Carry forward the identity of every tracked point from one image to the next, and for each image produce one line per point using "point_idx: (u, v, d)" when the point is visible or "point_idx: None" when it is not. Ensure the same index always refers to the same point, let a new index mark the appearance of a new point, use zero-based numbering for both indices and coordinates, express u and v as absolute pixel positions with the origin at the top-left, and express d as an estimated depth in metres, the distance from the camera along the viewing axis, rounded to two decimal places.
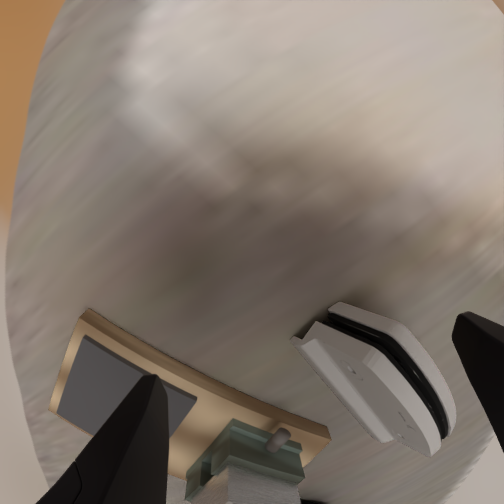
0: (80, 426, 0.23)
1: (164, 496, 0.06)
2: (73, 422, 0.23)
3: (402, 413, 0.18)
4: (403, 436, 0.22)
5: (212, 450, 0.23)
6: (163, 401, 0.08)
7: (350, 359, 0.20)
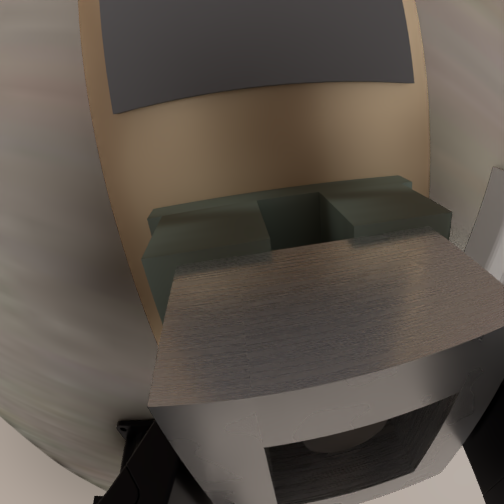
0: None
1: None
2: None
3: None
4: None
5: (321, 193, 0.10)
6: None
7: None
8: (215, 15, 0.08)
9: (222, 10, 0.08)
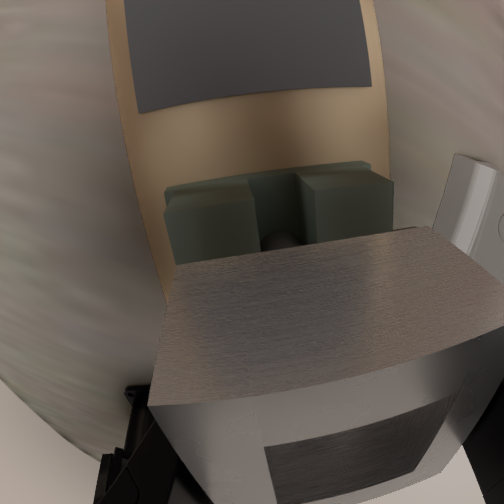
0: None
1: None
2: None
3: None
4: None
5: (296, 173, 0.13)
6: None
7: None
8: (216, 39, 0.11)
9: (221, 35, 0.11)
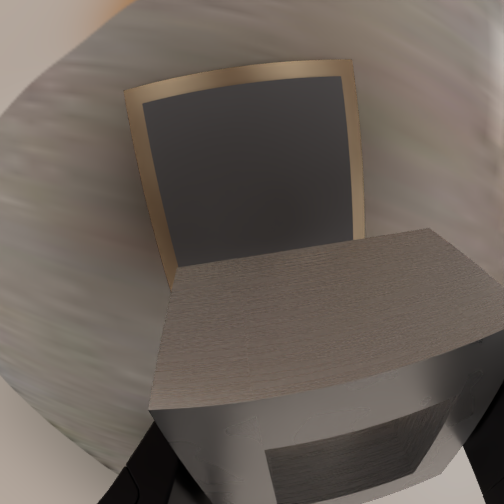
0: (156, 152, 0.15)
1: None
2: (153, 137, 0.15)
3: None
4: None
5: None
6: None
7: None
8: (237, 230, 0.17)
9: (241, 227, 0.17)
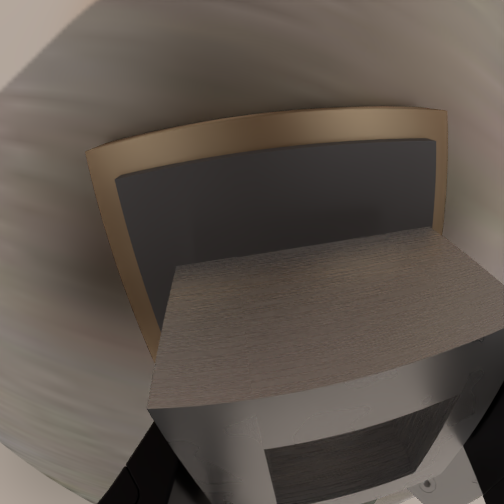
0: (144, 258, 0.10)
1: None
2: (136, 237, 0.09)
3: None
4: (432, 485, 0.19)
5: None
6: None
7: None
8: None
9: None
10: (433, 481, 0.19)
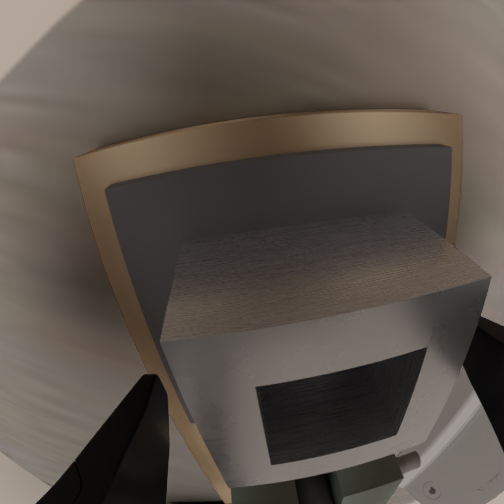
0: (138, 274, 0.09)
1: (164, 496, 0.06)
2: (129, 251, 0.09)
3: (501, 476, 0.13)
4: (437, 492, 0.18)
5: None
6: (163, 401, 0.08)
7: None
8: None
9: None
10: (438, 488, 0.18)
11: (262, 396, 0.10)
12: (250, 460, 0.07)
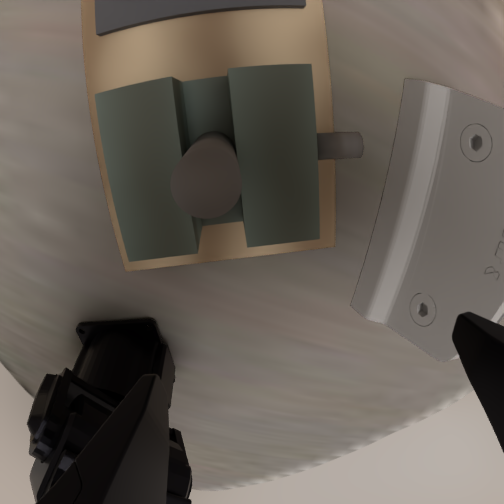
0: None
1: (164, 496, 0.06)
2: None
3: None
4: (431, 308, 0.17)
5: (228, 75, 0.12)
6: (163, 401, 0.08)
7: (499, 117, 0.12)
8: None
9: None
10: (430, 300, 0.17)
11: None
12: None
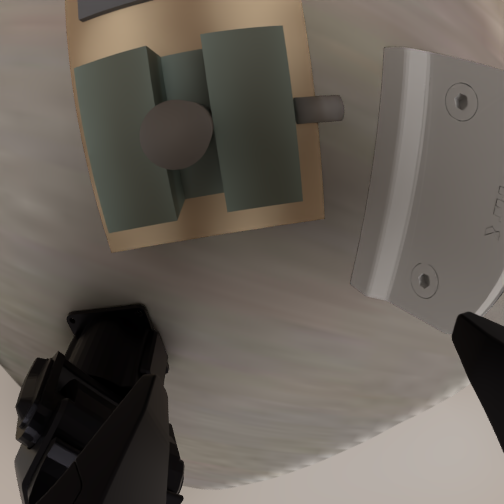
0: None
1: (164, 496, 0.06)
2: None
3: None
4: (432, 278, 0.16)
5: None
6: (163, 401, 0.08)
7: (482, 73, 0.11)
8: None
9: None
10: (431, 270, 0.16)
11: None
12: None
